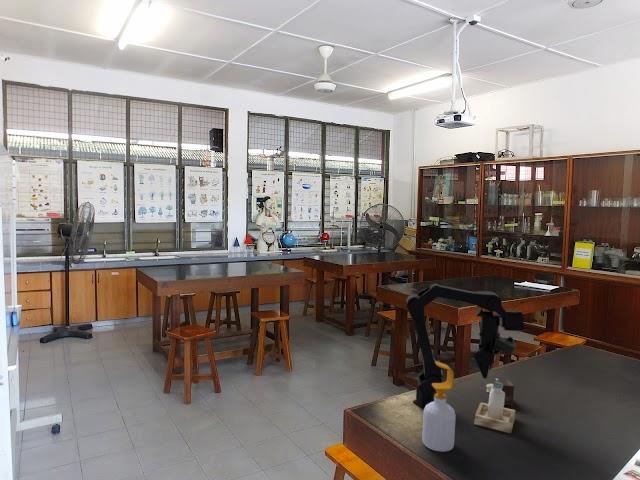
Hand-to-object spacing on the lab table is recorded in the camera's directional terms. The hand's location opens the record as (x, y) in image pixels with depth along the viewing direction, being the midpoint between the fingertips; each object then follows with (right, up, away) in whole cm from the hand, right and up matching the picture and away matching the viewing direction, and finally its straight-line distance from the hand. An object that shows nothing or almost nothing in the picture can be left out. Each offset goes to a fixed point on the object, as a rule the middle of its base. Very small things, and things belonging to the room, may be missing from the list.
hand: (487, 373), depth 154 cm
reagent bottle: (0, -13, -7) cm, 14 cm away
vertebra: (+8, -12, +15) cm, 21 cm away
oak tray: (0, -14, -6) cm, 15 cm away
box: (+9, -13, +9) cm, 18 cm away
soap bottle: (-22, -15, -21) cm, 34 cm away
